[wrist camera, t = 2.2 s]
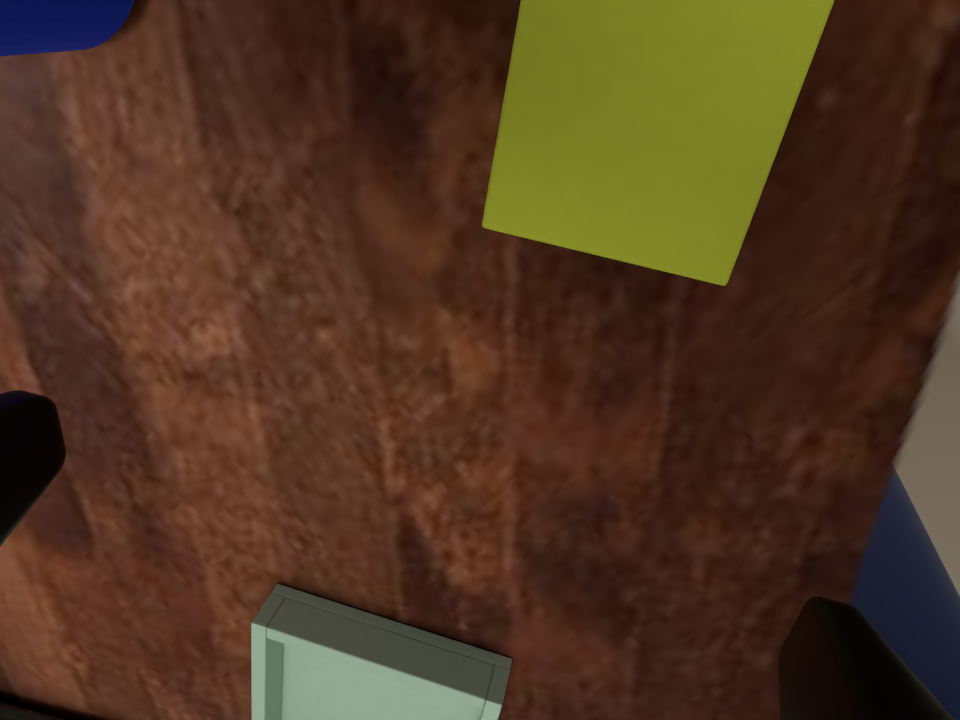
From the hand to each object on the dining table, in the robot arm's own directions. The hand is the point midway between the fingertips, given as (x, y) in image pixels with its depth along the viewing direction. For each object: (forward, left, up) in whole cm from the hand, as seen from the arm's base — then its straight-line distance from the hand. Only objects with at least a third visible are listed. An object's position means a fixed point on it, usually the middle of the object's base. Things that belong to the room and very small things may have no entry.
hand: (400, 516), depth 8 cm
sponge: (-2, -4, -11) cm, 12 cm away
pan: (+2, +25, -11) cm, 28 cm away
